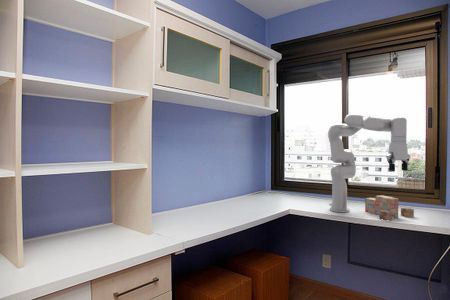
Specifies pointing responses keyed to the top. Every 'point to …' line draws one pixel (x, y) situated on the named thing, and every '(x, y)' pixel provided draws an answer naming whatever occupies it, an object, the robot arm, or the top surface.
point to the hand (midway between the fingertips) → (398, 170)
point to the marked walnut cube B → (407, 212)
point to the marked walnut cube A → (386, 215)
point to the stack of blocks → (382, 205)
